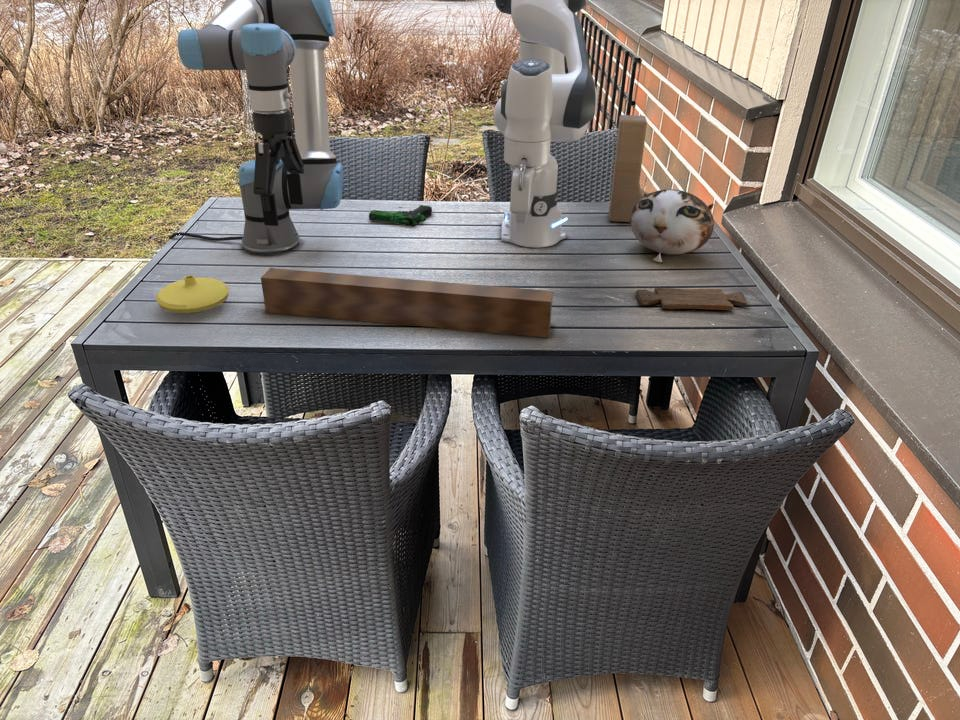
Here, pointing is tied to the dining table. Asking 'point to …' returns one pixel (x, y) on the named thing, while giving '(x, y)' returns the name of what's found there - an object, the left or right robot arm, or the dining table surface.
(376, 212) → the handgun
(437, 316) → the post
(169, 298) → the yellow round disc
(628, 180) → the decorative block
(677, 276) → the dining table surface
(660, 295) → the dark wooden board
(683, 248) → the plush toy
